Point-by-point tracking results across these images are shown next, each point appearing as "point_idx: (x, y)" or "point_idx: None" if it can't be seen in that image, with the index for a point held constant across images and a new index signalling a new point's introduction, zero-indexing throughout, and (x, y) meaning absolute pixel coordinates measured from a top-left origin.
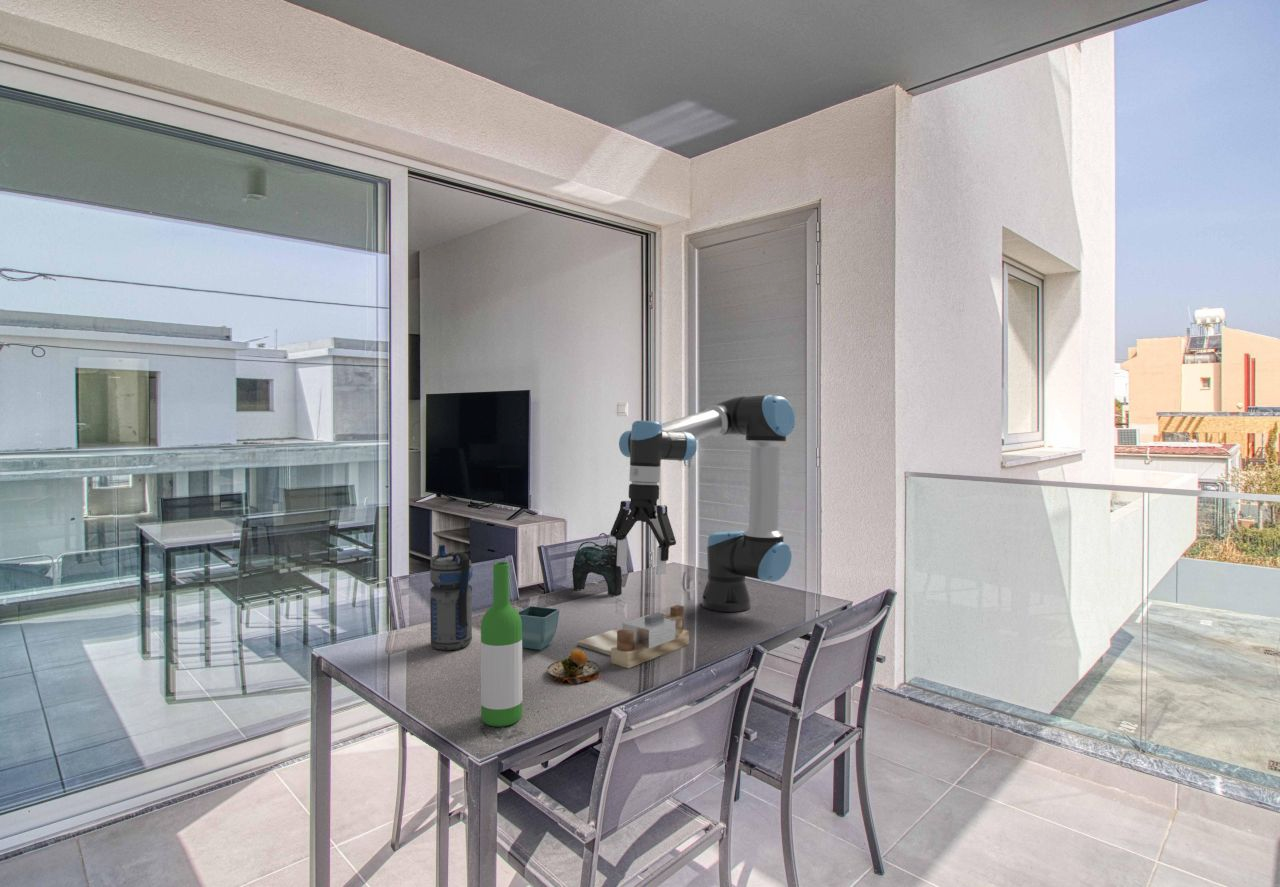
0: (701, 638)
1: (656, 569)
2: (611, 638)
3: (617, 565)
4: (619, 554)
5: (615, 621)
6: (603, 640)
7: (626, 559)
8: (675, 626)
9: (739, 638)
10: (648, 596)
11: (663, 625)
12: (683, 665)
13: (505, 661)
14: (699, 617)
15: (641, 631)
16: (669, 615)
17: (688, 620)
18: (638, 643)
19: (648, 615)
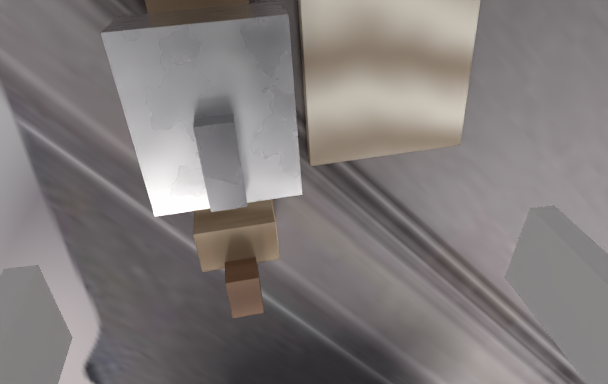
0: (224, 287)
1: (15, 304)
2: (406, 68)
3: (546, 210)
4: (606, 289)
5: (517, 204)
6: (414, 28)
7: (533, 313)
8: (195, 221)
9: (156, 352)
10: (557, 370)
11: (132, 140)
12: (40, 93)
13: None
14: (354, 369)
15: (156, 24)
16: (252, 251)
17: (359, 341)
18: (180, 11)
19: (237, 147)
